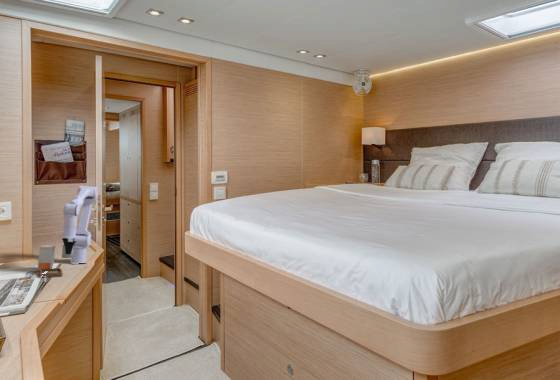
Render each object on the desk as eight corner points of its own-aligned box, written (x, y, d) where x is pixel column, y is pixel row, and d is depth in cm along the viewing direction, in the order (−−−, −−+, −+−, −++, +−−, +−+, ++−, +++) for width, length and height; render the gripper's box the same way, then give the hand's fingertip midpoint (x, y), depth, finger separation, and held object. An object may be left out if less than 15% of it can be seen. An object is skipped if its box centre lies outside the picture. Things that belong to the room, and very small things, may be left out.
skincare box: (37, 270, 183) (39, 246, 183) (40, 267, 187) (42, 245, 187) (50, 270, 185) (52, 247, 184) (53, 268, 189) (55, 245, 188)
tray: (39, 272, 179) (39, 269, 179) (60, 271, 184) (60, 268, 184) (40, 277, 172) (40, 274, 172) (62, 276, 177) (62, 272, 177)
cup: (61, 256, 186) (62, 244, 186) (71, 255, 189) (73, 244, 189) (62, 258, 182) (63, 246, 182) (72, 257, 185) (74, 246, 185)
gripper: (59, 224, 189) (57, 250, 189) (62, 229, 177) (59, 256, 177) (75, 224, 193) (72, 249, 193) (78, 229, 181) (76, 255, 181)
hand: (67, 253), depth 186 cm, fingers closed on cup, 5 cm apart
